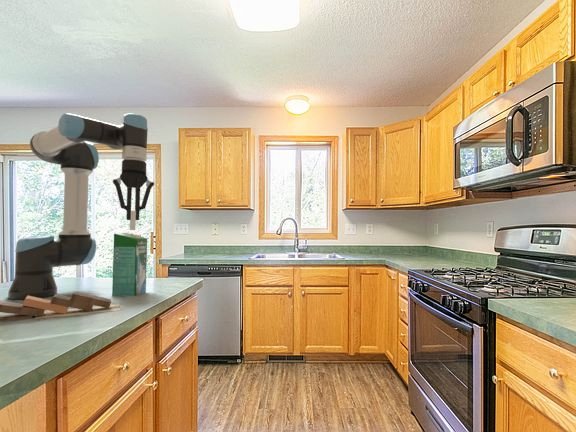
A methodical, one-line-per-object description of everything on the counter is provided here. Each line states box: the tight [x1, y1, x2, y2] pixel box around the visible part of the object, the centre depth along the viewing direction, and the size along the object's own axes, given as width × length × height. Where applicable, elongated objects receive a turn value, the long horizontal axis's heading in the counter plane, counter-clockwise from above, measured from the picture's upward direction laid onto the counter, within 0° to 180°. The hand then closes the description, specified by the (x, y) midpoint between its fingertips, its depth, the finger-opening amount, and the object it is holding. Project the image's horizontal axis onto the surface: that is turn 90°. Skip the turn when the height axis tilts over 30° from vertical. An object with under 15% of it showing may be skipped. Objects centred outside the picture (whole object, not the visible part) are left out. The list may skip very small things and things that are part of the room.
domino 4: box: [70, 291, 112, 308], centre depth 102 cm, size 4×2×11 cm
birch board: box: [33, 303, 122, 320], centre depth 101 cm, size 9×22×1 cm, turn 121°
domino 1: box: [0, 300, 46, 317], centre depth 93 cm, size 4×2×11 cm
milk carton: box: [111, 232, 148, 297], centre depth 128 cm, size 9×9×25 cm
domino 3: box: [50, 293, 94, 311], centre depth 100 cm, size 4×2×11 cm
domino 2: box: [0, 313, 34, 322], centre depth 91 cm, size 4×2×11 cm
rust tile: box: [21, 296, 69, 314], centre depth 96 cm, size 4×2×11 cm
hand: (132, 230), depth 109 cm, fingers closed
